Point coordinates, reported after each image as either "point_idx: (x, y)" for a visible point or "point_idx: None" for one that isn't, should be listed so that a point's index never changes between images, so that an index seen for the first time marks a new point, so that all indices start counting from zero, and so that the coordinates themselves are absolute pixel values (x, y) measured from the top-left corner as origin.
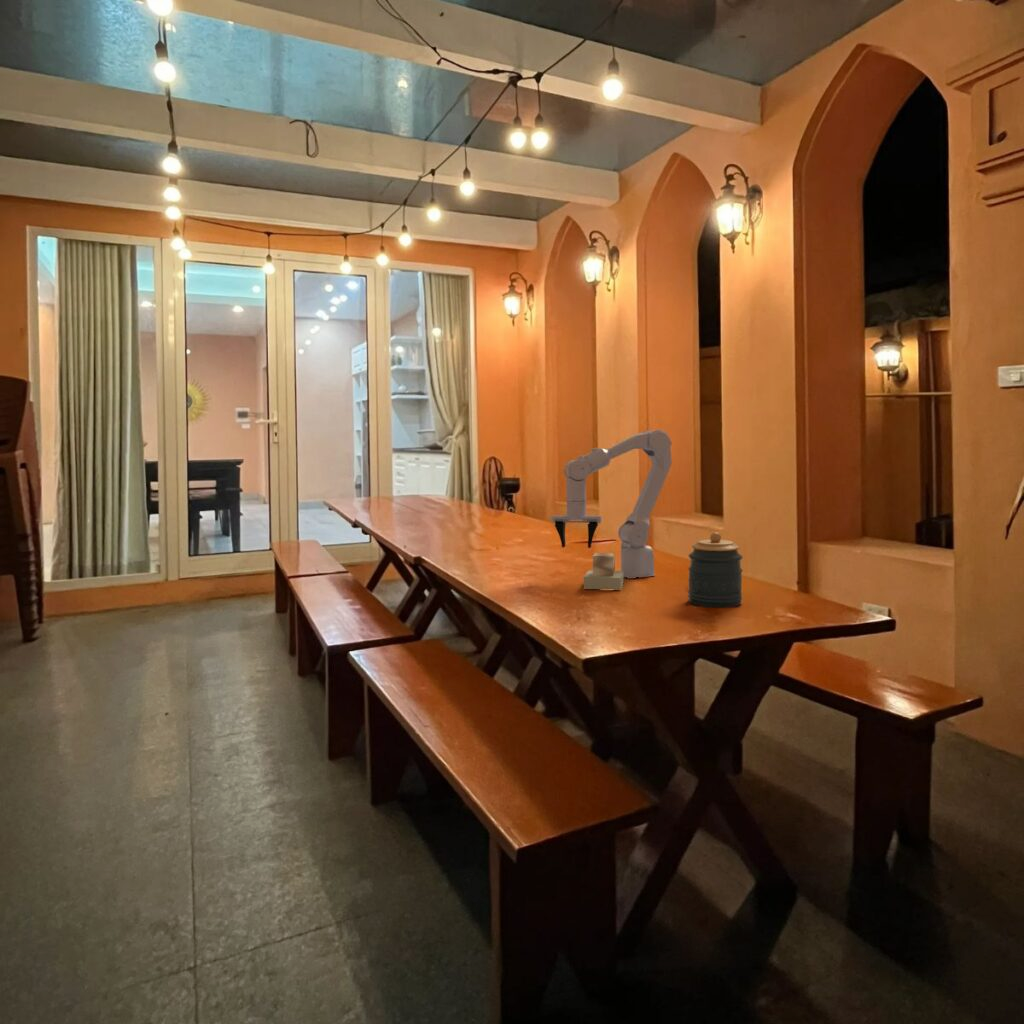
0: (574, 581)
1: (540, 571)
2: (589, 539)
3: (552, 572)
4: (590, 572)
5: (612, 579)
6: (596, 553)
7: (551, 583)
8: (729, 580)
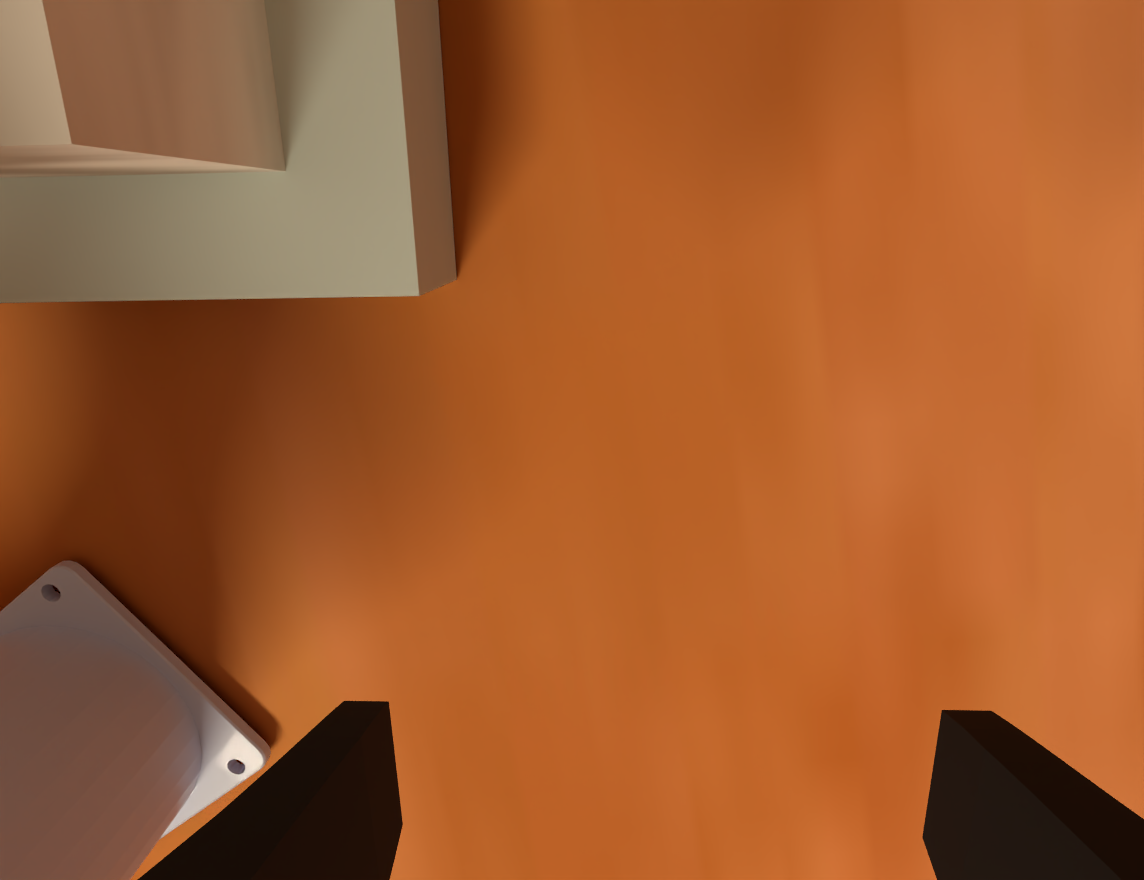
0: (637, 329)
1: None
2: (251, 824)
3: None
4: (351, 125)
5: None
6: (13, 52)
7: (919, 140)
8: None
